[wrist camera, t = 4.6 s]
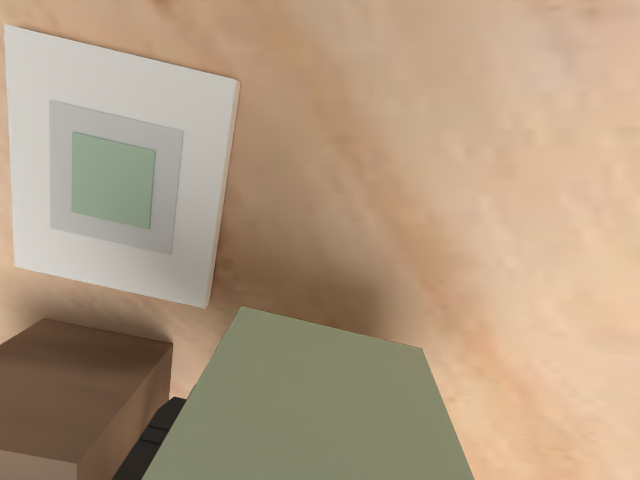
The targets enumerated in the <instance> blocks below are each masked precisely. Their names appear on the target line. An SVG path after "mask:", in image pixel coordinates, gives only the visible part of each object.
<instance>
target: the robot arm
mask: <svg viewBox="0 0 640 480" xmlns="http://www.w3.org/2000/svg"><path fill="white" fill-rule="evenodd" d="M196 384H197V383H196ZM194 387H195V386H194ZM193 389H194V388H193ZM192 391H193V390H192ZM192 391H191V392H192ZM190 394H191V393H190ZM189 396H190V395H189ZM189 396H188V398H189ZM188 398H187V399H188ZM187 399H182V398H178V397H173V398H172V399H170V400H169V401H168V402H166V403H165V404H164V405H162V406H161V407H160V408H158V410H157V411H156V413H155V414H154V416H153V417H152V419H151V420H150V422H149V423H148V425H147V428H145V429H144V431H143V432H142V434H141V435H140V437H139V439H138V441H137V442H136V443H135V445H134V446H133V448H132V449H131V451H130V452H129V454H128V455H127V457H126V458H125V460H124V461H123V463H122V464H121V466H120V467H119V469H118V470H117V472H116V473H115V475H114V476H113V478H112V479H111V480H142V478H143V476H144V474H145V473H146V471H147V469H148V467H149V466H150V464H151V462H152V460H153V459H154V457H155V455H156V453H157V452H158V450H159V448H160V446H161V445H162V443H163V441H164V439H165V438H166V436H167V434H168V432H169V431H170V429H171V427H172V425H173V424H174V422H175V420H176V419H177V417H178V415H179V413H180V412H181V410H182V408H183V406H184V405H185V403H186V401H187Z"/></svg>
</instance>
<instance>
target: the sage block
mask: <svg viewBox="0 0 640 480" xmlns="http://www.w3.org/2000/svg"><path fill="white" fill-rule="evenodd" d="M142 480H474V477H473V475H472V472H471V470H470V467H469V465H468V462H467V460H466V457H465V455H464V452H463V450H462V447H461V445H460V442H459V440H458V437H457V435H456V432H455V430H454V427H453V425H452V422H451V420H450V417H449V415H448V413H447V410H446V408H445V405H444V403H443V400H442V398H441V395H440V393H439V390H438V388H437V385H436V383H435V380H434V378H433V375H432V373H431V370H430V368H429V365H428V363H427V360H426V358H425V355H424V353H423V350H422V348H417V347H413V346H409V345H405V344H400V343H396V342H392V341H388V340H384V339H379V338H375V337H371V336H367V335H362V334H358V333H354V332H350V331H346V330H341V329H337V328H333V327H329V326H324V325H320V324H316V323H312V322H308V321H303V320H299V319H295V318H291V317H286V316H282V315H278V314H274V313H270V312H265V311H261V310H257V309H253V308H248V307H244V306H241V307H240V309H239V310H238V312H237V314H236V316H235V317H234V319H233V321H232V323H231V324H230V326H229V328H228V330H227V331H226V333H225V335H224V337H223V338H222V340H221V342H220V343H219V345H218V347H217V349H216V350H215V352H214V354H213V356H212V357H211V359H210V361H209V363H208V364H207V366H206V368H205V370H204V371H203V373H202V375H201V377H200V378H199V380H198V382H197V384H196V385H195V387H194V389H193V391H192V392H191V394H190V396H189V398H188V399H187V401H186V403H185V405H184V406H183V408H182V410H181V412H180V413H179V415H178V417H177V419H176V420H175V422H174V424H173V425H172V427H171V429H170V431H169V432H168V434H167V436H166V438H165V439H164V441H163V443H162V445H161V446H160V448H159V450H158V452H157V453H156V455H155V457H154V459H153V460H152V462H151V464H150V466H149V467H148V469H147V471H146V473H145V474H144V476H143V478H142Z"/></svg>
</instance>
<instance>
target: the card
mask: <svg viewBox="0 0 640 480" xmlns="http://www.w3.org/2000/svg"><path fill="white" fill-rule="evenodd" d="M4 40H5V62H6V85H7V107H8V130H9V152H10V175H11V198H12V220H13V243H14V265H15V267H18V268H22V269H27V270H31V271H36V272H40V273H45V274H50V275H54V276H59V277H63V278H68V279H72V280H77V281H81V282H86V283H90V284H95V285H99V286H104V287H108V288H113V289H118V290H122V291H127V292H131V293H136V294H140V295H145V296H149V297H154V298H158V299H163V300H167V301H172V302H177V303H181V304H186V305H190V306H195V307H199V308H205V307H206V306H207V305H208V303H209V302H210V295H211V288H212V281H213V274H214V267H215V260H216V253H217V246H218V239H219V232H220V225H221V218H222V211H223V204H224V197H225V190H226V183H227V176H228V169H229V162H230V155H231V148H232V141H233V134H234V127H235V120H236V113H237V106H238V100H239V93H240V86H241V82H239V81H238V80H236V79H232V78H228V77H223V76H219V75H215V74H211V73H207V72H203V71H198V70H194V69H190V68H186V67H182V66H178V65H173V64H169V63H165V62H161V61H157V60H152V59H148V58H144V57H140V56H136V55H132V54H127V53H123V52H119V51H115V50H111V49H106V48H102V47H98V46H94V45H90V44H86V43H81V42H77V41H73V40H69V39H65V38H60V37H56V36H52V35H48V34H44V33H40V32H35V31H31V30H27V29H23V28H19V27H15V26H10V25H6V24H4Z"/></svg>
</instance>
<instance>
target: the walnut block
mask: <svg viewBox="0 0 640 480" xmlns="http://www.w3.org/2000/svg"><path fill="white" fill-rule="evenodd" d="M172 352H173V344H172V343H167V342H161V341H156V340H151V339H146V338H141V337H135V336H130V335H125V334H120V333H115V332H109V331H104V330H99V329H94V328H89V327H83V326H78V325H73V324H68V323H63V322H57V321H52V320H47V319H42V320H41V321H39V322H37V323H36V324H34V325H32V326H31V327H29V328H27V329H26V330H24V331H22V332H21V333H19V334H17V335H16V336H14V337H12V338H11V339H9V340H7V341H6V342H4V343H3V344H1V345H0V480H111V479H112V478H113V476H114V475H115V473H116V472H117V470H118V469H119V467H120V466H121V464H122V463H123V461H124V460H125V458H126V457H127V455H128V454H129V452H130V451H131V449H132V448H133V446H134V445H135V443H136V442H137V441H138V439H139V437H140V435H141V434H142V432H143V431H144V429H145V428H147V425H148V423H149V422H150V420H151V419H152V417H153V416H154V414H155V413H156V411H157V410H158V408H160V407H161V406H162V405H164V404H165V403H166V402H168V401H169V391H170V378H171V365H172Z"/></svg>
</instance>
